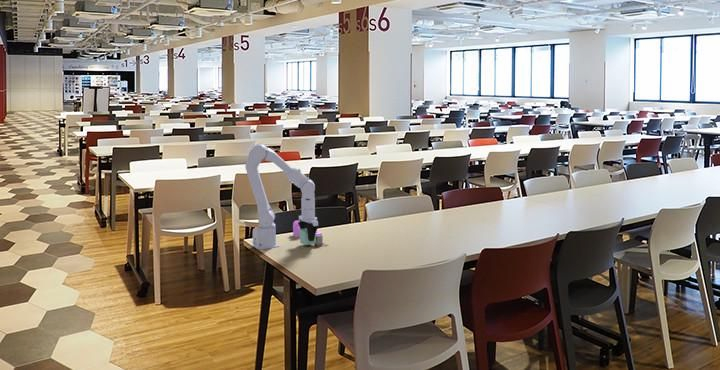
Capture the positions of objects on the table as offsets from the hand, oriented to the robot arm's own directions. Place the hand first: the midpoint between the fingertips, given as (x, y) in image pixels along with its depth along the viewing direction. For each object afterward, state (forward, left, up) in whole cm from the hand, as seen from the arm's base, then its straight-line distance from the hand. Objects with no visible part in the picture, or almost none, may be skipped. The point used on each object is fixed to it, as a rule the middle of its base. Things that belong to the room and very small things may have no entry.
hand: (308, 239), depth 272 cm
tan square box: (+4, -2, -3) cm, 5 cm away
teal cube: (0, 0, -2) cm, 2 cm away
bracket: (+9, +17, -3) cm, 20 cm away
